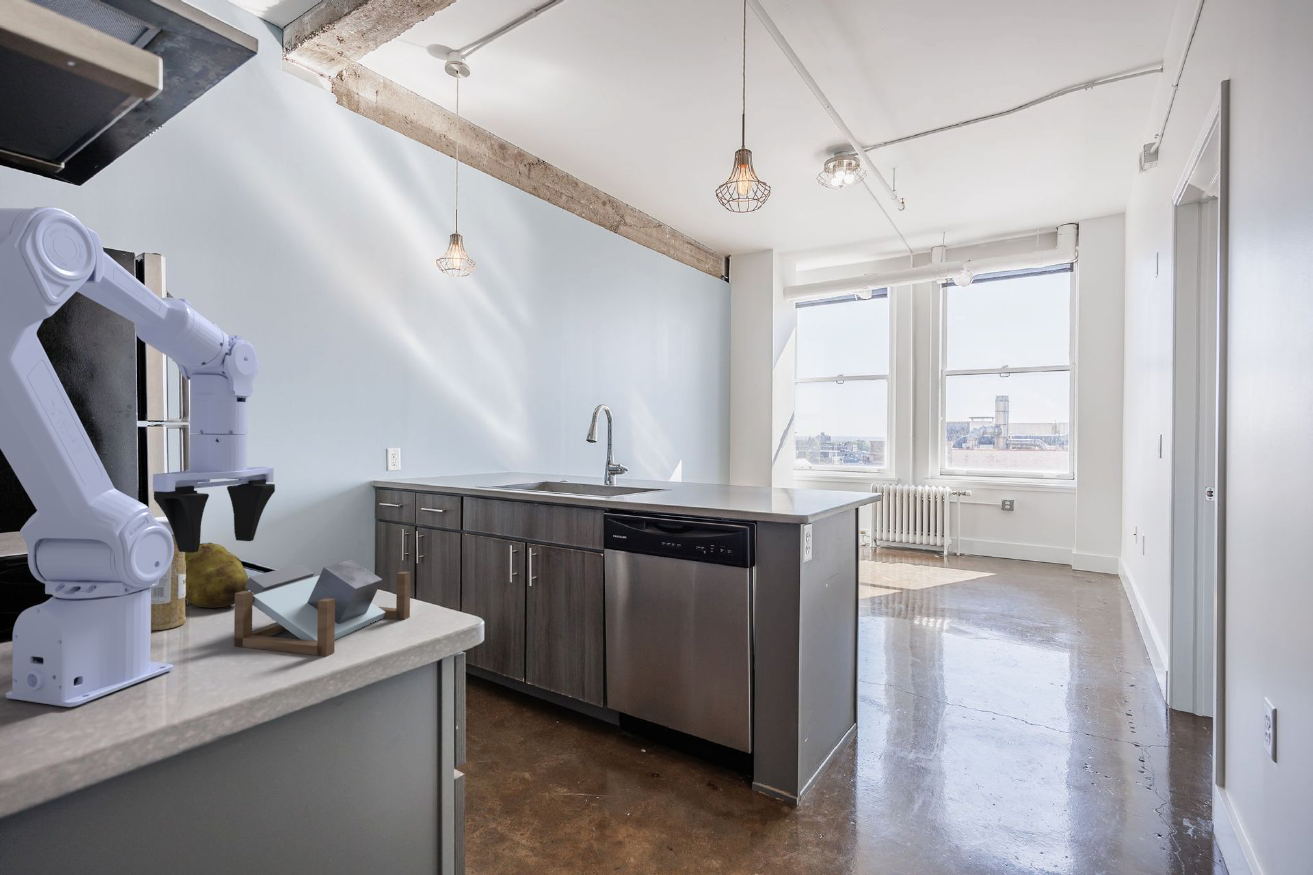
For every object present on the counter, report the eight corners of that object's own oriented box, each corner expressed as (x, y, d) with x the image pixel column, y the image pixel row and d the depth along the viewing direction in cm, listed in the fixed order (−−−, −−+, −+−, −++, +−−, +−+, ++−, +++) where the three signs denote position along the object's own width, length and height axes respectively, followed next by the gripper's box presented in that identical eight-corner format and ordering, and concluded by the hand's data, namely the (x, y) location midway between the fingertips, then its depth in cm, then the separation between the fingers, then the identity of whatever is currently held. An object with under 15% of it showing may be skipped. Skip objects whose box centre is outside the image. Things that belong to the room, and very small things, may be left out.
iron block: (338, 624, 76) (355, 588, 75) (307, 602, 77) (323, 567, 76) (366, 612, 81) (382, 579, 80) (336, 592, 82) (352, 559, 81)
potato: (176, 618, 81) (177, 556, 81) (171, 597, 91) (171, 542, 91) (252, 608, 87) (252, 550, 87) (239, 589, 97) (240, 537, 97)
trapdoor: (313, 650, 71) (318, 639, 71) (230, 591, 74) (235, 580, 74) (382, 619, 83) (386, 610, 83) (308, 569, 85) (312, 560, 85)
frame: (326, 656, 69) (327, 601, 69) (234, 645, 72) (234, 593, 72) (409, 616, 84) (410, 572, 84) (330, 609, 87) (331, 566, 86)
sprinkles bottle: (195, 622, 80) (196, 516, 80) (159, 633, 76) (160, 521, 75) (166, 619, 81) (168, 514, 81) (129, 629, 77) (131, 519, 77)
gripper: (242, 433, 84) (241, 534, 85) (131, 433, 70) (130, 555, 70) (287, 434, 83) (286, 537, 83) (182, 435, 69) (181, 559, 69)
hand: (218, 545), depth 77 cm, fingers open, 7 cm apart
